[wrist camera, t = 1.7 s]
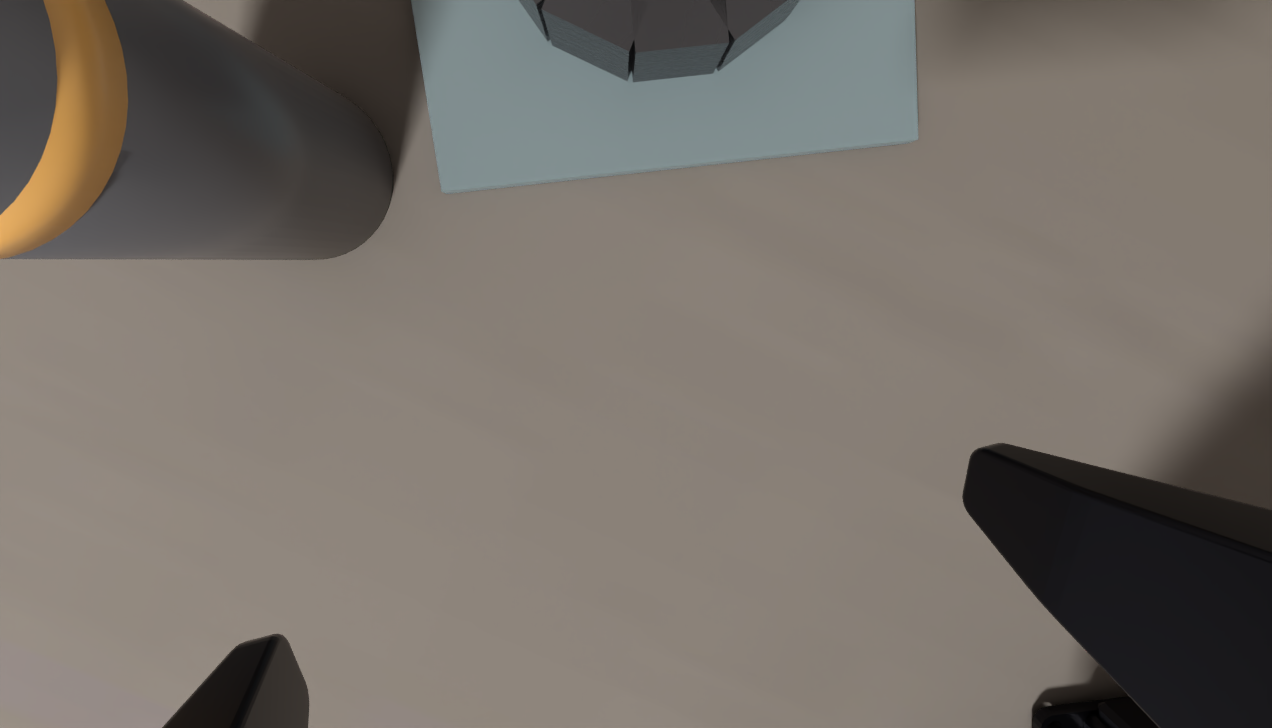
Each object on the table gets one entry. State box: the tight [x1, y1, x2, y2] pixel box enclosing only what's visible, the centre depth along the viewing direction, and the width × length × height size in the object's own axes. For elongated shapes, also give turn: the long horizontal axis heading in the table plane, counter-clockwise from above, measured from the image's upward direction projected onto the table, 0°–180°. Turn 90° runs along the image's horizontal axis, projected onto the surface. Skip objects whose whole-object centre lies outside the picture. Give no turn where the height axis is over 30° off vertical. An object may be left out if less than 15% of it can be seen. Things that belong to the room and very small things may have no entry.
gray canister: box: [0, 0, 393, 260], centre depth 12 cm, size 5×5×13 cm
